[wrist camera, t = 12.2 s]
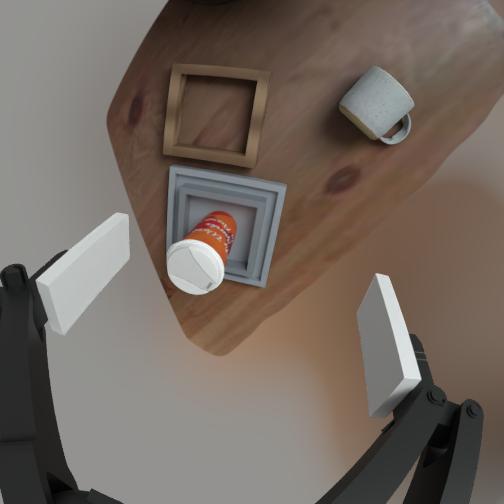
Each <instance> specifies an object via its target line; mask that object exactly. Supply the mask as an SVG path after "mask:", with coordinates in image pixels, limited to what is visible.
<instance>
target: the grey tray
mask: <svg viewBox="0 0 504 504" xmlns="http://www.w3.org/2000/svg"><path fill="white" fill-rule="evenodd" d="M286 188H287V184H283V183H278V182H274V181H269V180H264V179H259V178H253V177H248V176H243V175H237V174H232V173H226V172H220V171H215V170H209V169H202V168H196V167H190V166H183V165H176V164H174V165H172V166H170V174H169V190H168V211H167V246H166V265H167V252H168V250H169V248H170V247H171V246H172V245H173V244H175V243H177V242H179V241H182V240H183V239H184V238H185V236H186V235H187V234H188V233H189V232H190V231H191V230H192V229H193V228H194V227H196V226H197V225H198V224H199V223H200V222H201V221H202V220H203V219H204V218H205V217H206V216H207V215H208V214H210V213H212V212H214V211H223V212H226V213H228V214H229V215H231V216H232V217H233V219H234V220H235V222H236V225H237V231H236V235H235V238H234V241H233V244H232V247H231V250H230V253H229V256H228V259H227V262H226V265H225V268H224V277H223V278H224V279H228V280H232V281H237V282H241V283H246V284H250V285H255V286H259V287H264V288H265V285H266V281H267V276H268V272H269V267H270V263H271V258H272V254H273V249H274V245H275V240H276V235H277V231H278V226H279V221H280V217H281V212H282V207H283V202H284V198H285V193H286Z"/></svg>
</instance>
